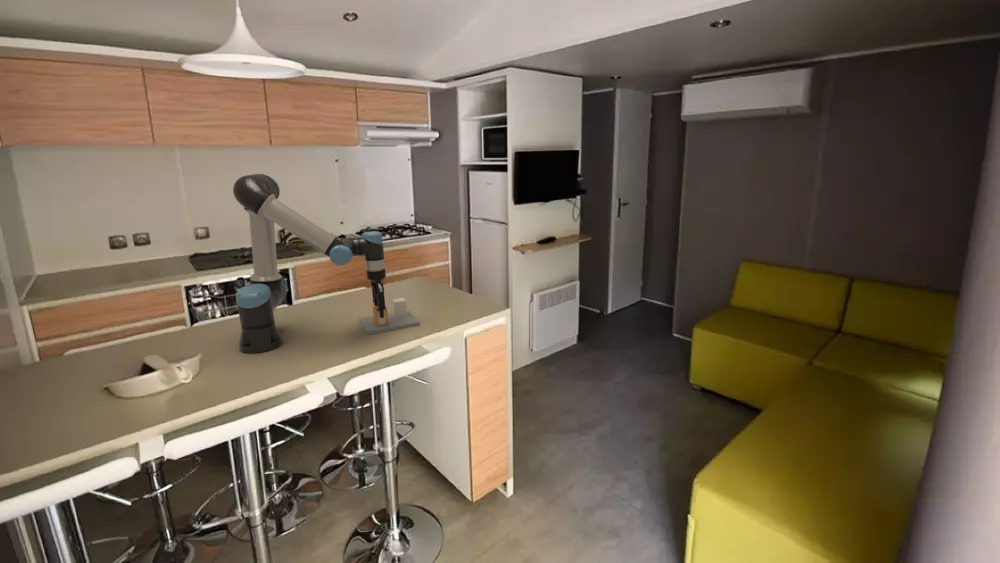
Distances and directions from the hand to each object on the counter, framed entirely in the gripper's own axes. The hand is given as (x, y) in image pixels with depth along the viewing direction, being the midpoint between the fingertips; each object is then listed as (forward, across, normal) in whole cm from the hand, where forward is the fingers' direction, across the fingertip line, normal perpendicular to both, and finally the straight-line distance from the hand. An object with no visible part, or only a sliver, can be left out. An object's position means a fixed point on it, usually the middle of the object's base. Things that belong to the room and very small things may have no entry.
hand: (380, 322), depth 205 cm
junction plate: (+2, +2, -4) cm, 5 cm away
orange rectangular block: (0, 0, 0) cm, 0 cm away
